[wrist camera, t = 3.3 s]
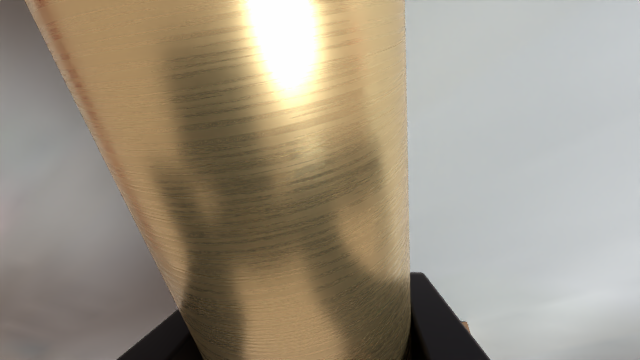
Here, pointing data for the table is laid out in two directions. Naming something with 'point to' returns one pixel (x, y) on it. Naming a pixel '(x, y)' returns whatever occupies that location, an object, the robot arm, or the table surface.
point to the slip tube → (256, 162)
